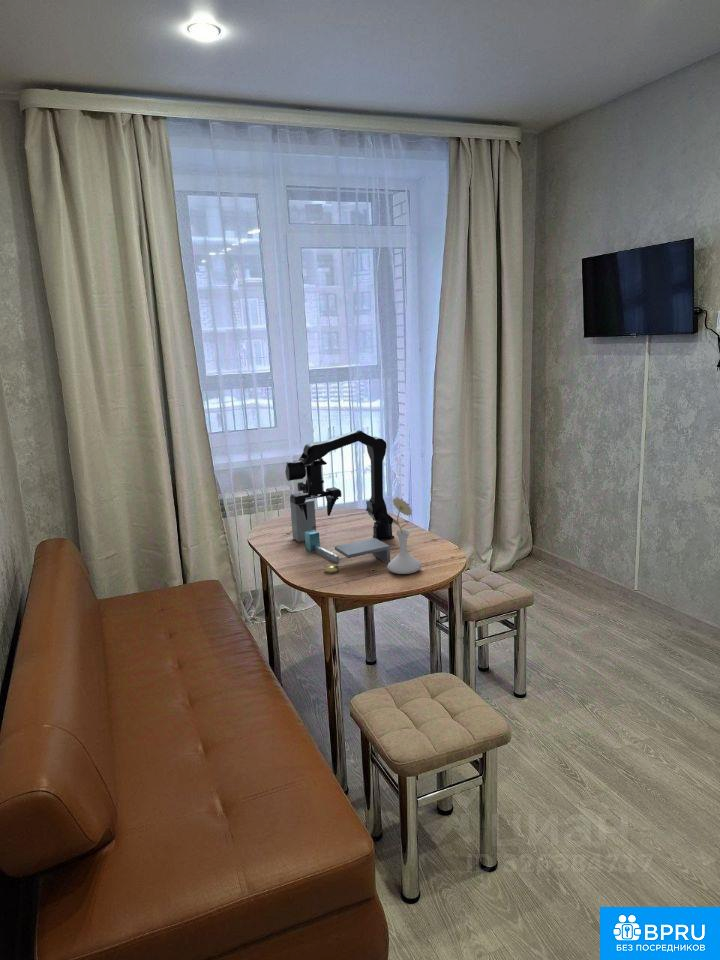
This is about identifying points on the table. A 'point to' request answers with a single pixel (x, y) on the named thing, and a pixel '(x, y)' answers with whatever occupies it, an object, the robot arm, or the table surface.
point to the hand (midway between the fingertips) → (317, 517)
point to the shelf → (366, 549)
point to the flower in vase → (403, 545)
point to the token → (331, 569)
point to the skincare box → (302, 520)
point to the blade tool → (318, 546)
